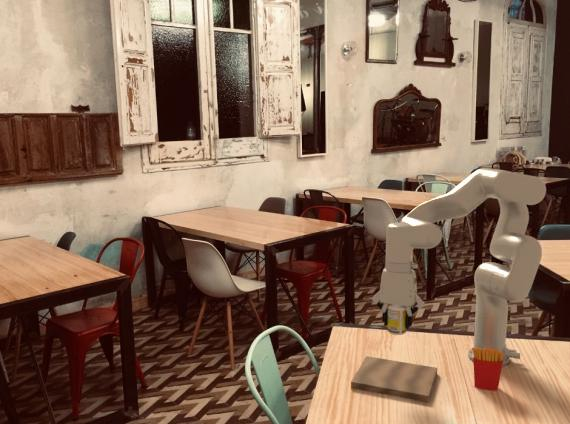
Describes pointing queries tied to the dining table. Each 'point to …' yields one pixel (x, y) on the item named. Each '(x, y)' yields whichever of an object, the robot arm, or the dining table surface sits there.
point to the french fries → (487, 368)
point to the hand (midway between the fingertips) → (397, 325)
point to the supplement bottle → (396, 319)
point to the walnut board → (395, 378)
